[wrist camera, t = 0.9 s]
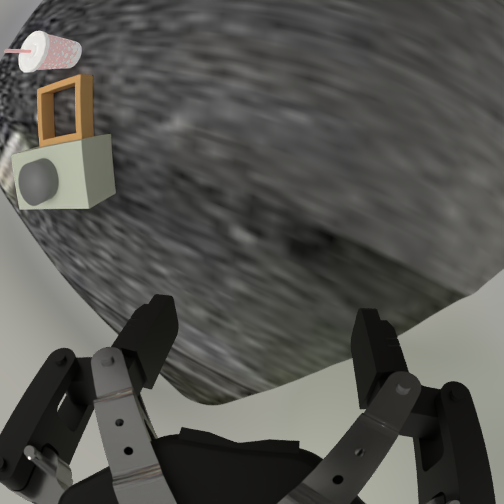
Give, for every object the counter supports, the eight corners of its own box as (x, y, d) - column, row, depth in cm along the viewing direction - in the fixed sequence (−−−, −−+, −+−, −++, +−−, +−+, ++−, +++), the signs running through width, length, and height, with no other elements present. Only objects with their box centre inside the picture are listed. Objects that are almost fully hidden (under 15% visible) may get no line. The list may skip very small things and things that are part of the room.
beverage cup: (91, 39, 29) (24, 28, 17) (76, 75, 32) (8, 76, 20) (66, 35, 29) (2, 27, 16) (53, 69, 31) (-12, 71, 19)
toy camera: (37, 93, 33) (-6, 98, 24) (110, 70, 32) (64, 66, 23) (46, 195, 42) (7, 216, 33) (115, 193, 40) (75, 216, 31)
